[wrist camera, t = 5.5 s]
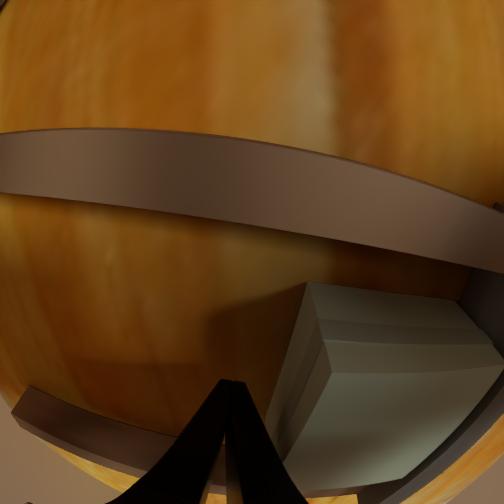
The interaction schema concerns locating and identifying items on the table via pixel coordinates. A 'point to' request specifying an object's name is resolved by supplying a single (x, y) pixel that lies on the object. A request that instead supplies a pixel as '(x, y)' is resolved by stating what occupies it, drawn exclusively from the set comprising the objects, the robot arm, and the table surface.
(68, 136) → the bay
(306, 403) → the block
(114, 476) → the table surface
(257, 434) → the robot arm
